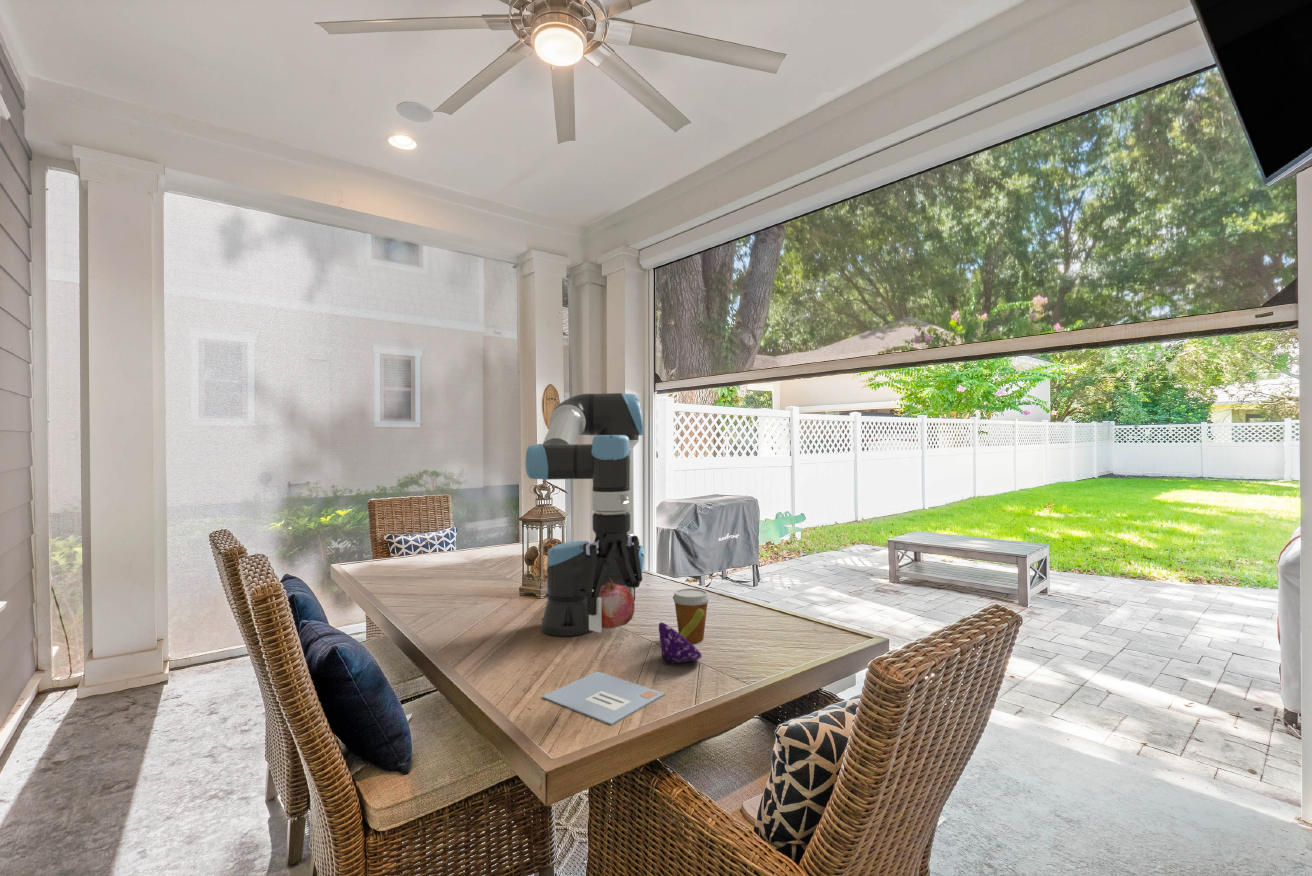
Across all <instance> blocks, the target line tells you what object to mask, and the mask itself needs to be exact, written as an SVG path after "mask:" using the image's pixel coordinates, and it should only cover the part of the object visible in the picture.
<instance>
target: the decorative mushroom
mask: <svg viewBox="0 0 1312 876" xmlns="http://www.w3.org/2000/svg"><path fill="white" fill-rule="evenodd" d="M703 616H704V611H703V610H702V609H697V611H696V613H695V614H694V616H693V618H692V619H691V621H690V622H689V623H688V624H687V625H686V626H685V627H684V628H683V629H682V631H681V633H680V634H679V632H678V631H676V630H675V629H674V628H672V627H671V626H670V625H668V624H666V623H665V622H659V623H658V633H659V634H658V635H659V646H660V650H661V659H662V662H663V663H664V664H666V665H667V664H669V665H670V664H672V663H673V664H674V663H676V664H677V663H686V662H692V661H698V660H700V659H702V656H703V655H702V653H701V651H699V649H698V648H696V646H694V645H693V643H690V642H689V641H688V640H686V639H685V638H686V637H687V636H688V635H689V634H690V633H691V632H692V631H693V630H694V629H695V628H696V627H697V625H698V623H699V622H700V620H701V618H702V617H703Z"/></svg>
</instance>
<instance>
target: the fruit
mask: <svg viewBox="0 0 1312 876" xmlns="http://www.w3.org/2000/svg"><path fill="white" fill-rule="evenodd" d="M609 581H610V582H608V581H607V583H606V585H603V586H602V587H601V589H600V592H599V595H598V597H600V598H601V599H602V629H608V630H610V629H615V628H618V627H622V626H625V625H627V624H628V623H629V622H631V621H632V620H631V618H632V616H633V614H634V615H635V609H636V608H635V607H636V606H635V601H634V597H633V595H632V594H631V592H630V591H629V590H628V589H627V588H626V587H624V586H622V585H620V584H615V583H613V582H612V580H611V579H610V577H609Z"/></svg>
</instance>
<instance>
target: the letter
mask: <svg viewBox="0 0 1312 876" xmlns="http://www.w3.org/2000/svg"><path fill="white" fill-rule="evenodd" d="M665 695H666V693H665V692H661V691H659V690H656V689H652V688H649V687H647V686H643V685H641V684H637V683H634V682H631V681H627V680H625V679H622V678H619V677H616V676H613V675H610V674H607V673H604V672H600V671H597V670H596V671H595V672H593V673H590V674H587V675H586V676H584V677H582V678H580V679H577V680H575V681H573V682H570V683H568V684H565V685H564V686H561V687H559V688H557V689H554V690H552V691H550V692H547V693H545V694H544V695H542V696H541V698H542V699H545V700H547V701H549V702H552V703H555V704H557V705H560V706H563V707H565V708H568V709H570V710H573V711H575V712H577V713H580V714H582V715H585V716H587V717H590V718H592V719H595V720H597V721H599V722H601V723H605V724H607V725H610V726H613V725H614V724H616V723H618V722H619V721H621V720H623V719H625V718H627V717H628V716H630V715H632V714H634V713H637V711H640V710H641V709H643V708H644V707H647V706H648V705H650V704H651V703H653V702H655V701H657V700H659V699H660V698H662V697H665Z"/></svg>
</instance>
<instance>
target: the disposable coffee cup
mask: <svg viewBox="0 0 1312 876" xmlns="http://www.w3.org/2000/svg"><path fill="white" fill-rule="evenodd" d="M672 599H673V602H674V607H675V615H676V622H677V630H678V631H677V632H678V633H679V634H680V633H681V631H682V629H683V628H684V627H685V626H686V625H687V624H688V623H689V622H690V621H691V619H692V618H693V616H694V614H695V613H696V611H697V609H702V610H703V611H704V616H703V617H702V618H701V620H700V622H699V623H698V625H697V627H696V628H695V629H694V630H693V631H692V632H691V633H690V634H689V635H688V636H687V637H686V638H685V639H686V640H688V641H689V642H690V643H691V644H695V643H700V642H702V641H704V638H705V637H704V636H705V629H706V628H705V627H706V620H707V611H708V602H709V600H710V596H709V593H708V591H707V590H704V589H700V588H680V589H677V590H675V591H674V594H673V596H672Z"/></svg>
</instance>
